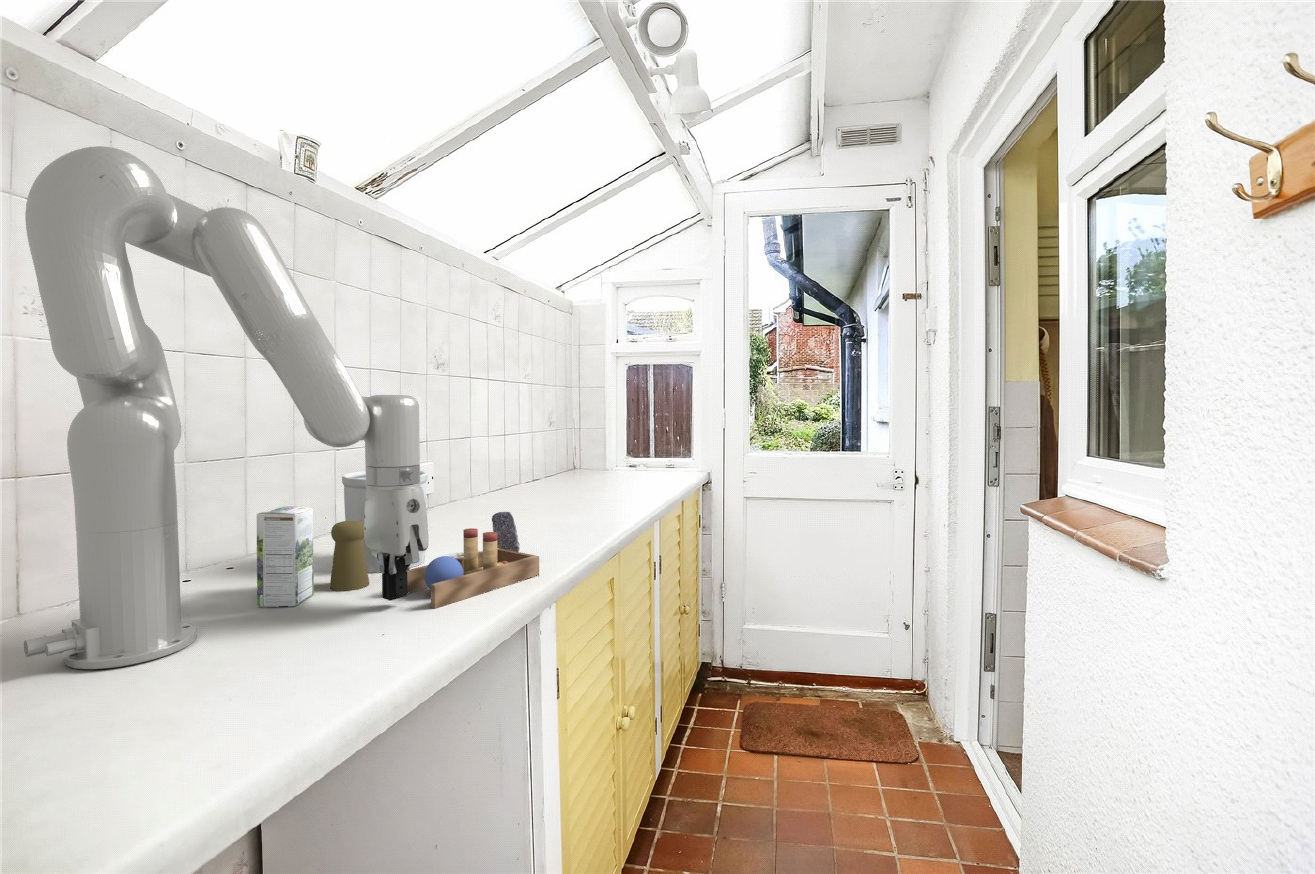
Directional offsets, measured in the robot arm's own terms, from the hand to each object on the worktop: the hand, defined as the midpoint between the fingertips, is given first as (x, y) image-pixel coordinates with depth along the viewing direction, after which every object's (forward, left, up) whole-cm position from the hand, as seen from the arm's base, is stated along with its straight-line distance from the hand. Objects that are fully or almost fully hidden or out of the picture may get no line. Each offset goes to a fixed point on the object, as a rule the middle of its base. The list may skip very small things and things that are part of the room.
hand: (395, 597), depth 93 cm
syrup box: (-8, +16, -2) cm, 18 cm away
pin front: (+13, 0, 0) cm, 13 cm away
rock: (+30, +9, -2) cm, 31 cm away
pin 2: (+16, -2, -2) cm, 17 cm away
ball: (+9, 0, +2) cm, 9 cm away
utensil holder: (+14, +24, -2) cm, 28 cm away
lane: (+14, 0, -2) cm, 14 cm away
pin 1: (+16, +3, -2) cm, 17 cm away
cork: (+2, +16, -2) cm, 16 cm away
